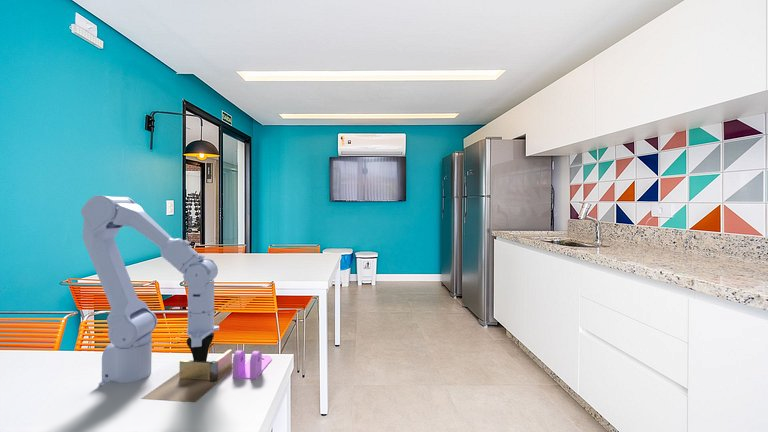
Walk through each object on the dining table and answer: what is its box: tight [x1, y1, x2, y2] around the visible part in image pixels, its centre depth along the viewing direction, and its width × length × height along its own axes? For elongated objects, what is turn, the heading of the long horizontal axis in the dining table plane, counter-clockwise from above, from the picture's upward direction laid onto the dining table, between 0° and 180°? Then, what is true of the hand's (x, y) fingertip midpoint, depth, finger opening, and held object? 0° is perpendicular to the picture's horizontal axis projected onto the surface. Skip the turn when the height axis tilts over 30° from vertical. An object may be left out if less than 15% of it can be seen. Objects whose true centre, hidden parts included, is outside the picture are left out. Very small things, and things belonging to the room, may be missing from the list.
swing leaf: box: [178, 359, 211, 380], centre depth 85 cm, size 1×7×4 cm, turn 86°
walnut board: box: [141, 362, 233, 403], centre depth 85 cm, size 12×19×1 cm, turn 175°
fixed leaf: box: [209, 349, 233, 382], centre depth 88 cm, size 2×9×4 cm, turn 175°
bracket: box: [232, 349, 273, 380], centre depth 93 cm, size 13×6×7 cm, turn 177°
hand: (200, 365), depth 88 cm, fingers closed
